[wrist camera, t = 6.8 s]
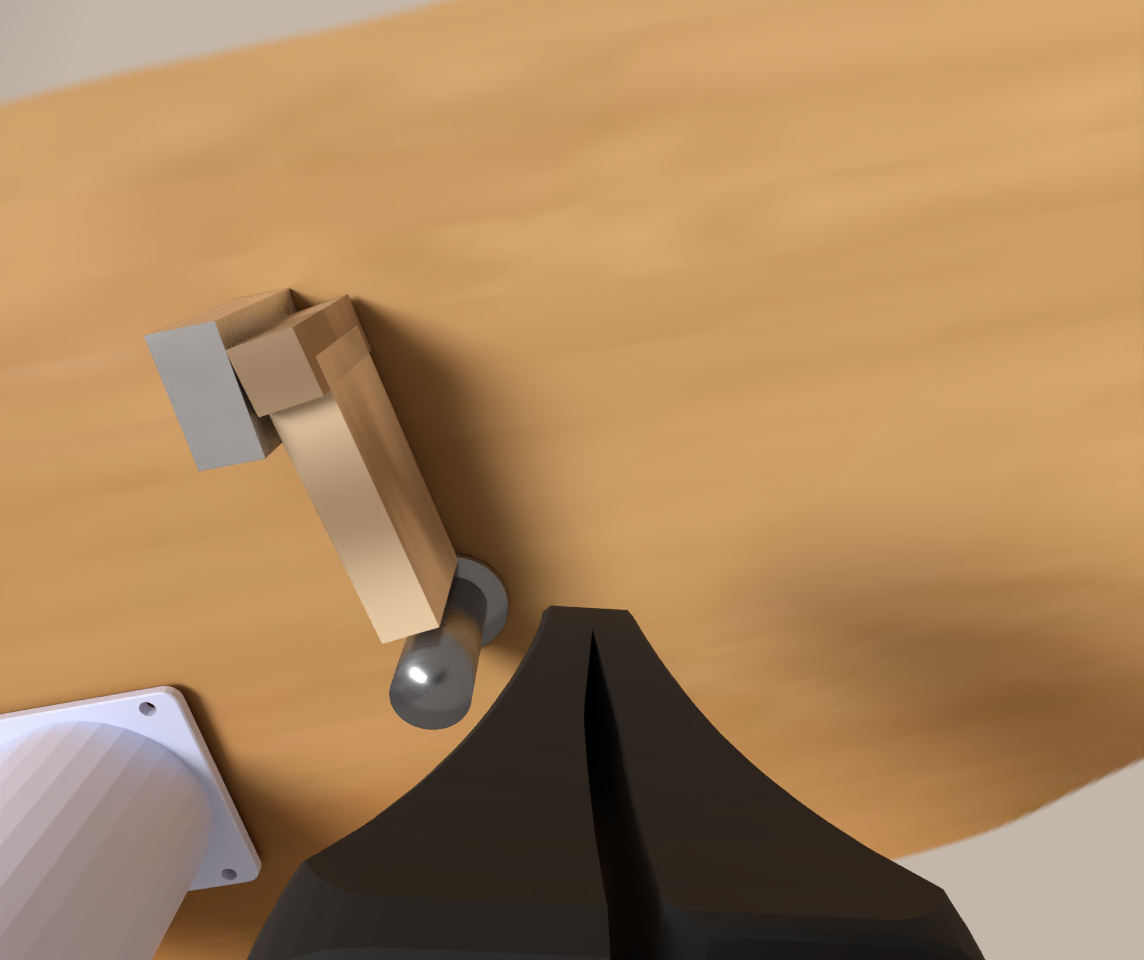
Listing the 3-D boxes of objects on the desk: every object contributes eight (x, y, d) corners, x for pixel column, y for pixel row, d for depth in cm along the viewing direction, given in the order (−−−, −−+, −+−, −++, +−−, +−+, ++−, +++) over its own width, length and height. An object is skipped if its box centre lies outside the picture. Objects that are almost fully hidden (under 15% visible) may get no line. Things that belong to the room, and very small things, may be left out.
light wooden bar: (459, 554, 22) (435, 638, 19) (410, 569, 23) (377, 655, 19) (347, 294, 20) (291, 327, 16) (293, 312, 20) (225, 350, 16)
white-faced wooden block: (271, 410, 21) (199, 471, 17) (232, 299, 20) (144, 335, 16) (325, 400, 21) (265, 458, 17) (288, 287, 20) (214, 320, 16)
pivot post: (417, 654, 24) (385, 757, 20) (388, 563, 23) (347, 653, 19) (519, 636, 24) (508, 737, 20) (494, 544, 23) (478, 630, 18)
